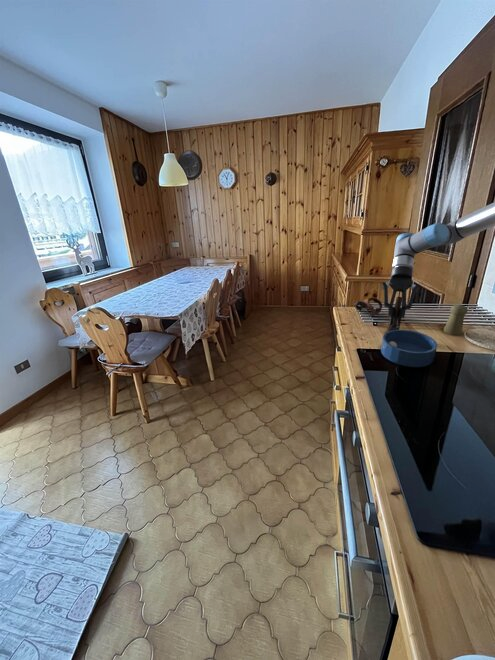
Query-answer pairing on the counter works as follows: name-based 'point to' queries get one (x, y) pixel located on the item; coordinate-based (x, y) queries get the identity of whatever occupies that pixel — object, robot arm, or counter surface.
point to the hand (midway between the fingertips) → (395, 324)
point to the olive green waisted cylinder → (455, 320)
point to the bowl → (409, 348)
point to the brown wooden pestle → (395, 315)
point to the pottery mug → (369, 306)
